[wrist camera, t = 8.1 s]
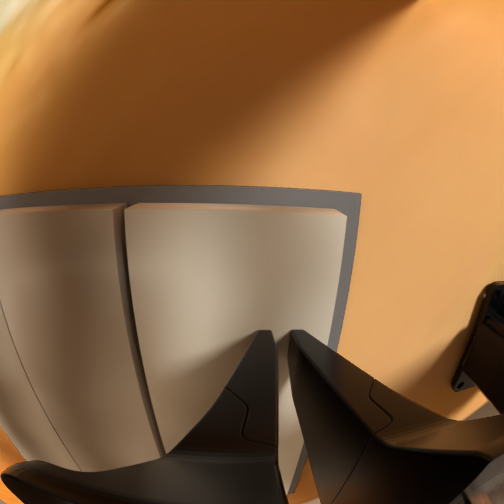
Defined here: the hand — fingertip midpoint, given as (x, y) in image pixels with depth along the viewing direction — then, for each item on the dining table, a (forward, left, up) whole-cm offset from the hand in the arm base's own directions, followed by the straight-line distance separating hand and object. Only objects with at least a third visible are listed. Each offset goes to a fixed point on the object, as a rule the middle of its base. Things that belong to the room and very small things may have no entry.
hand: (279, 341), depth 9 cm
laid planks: (+11, +5, -2) cm, 12 cm away
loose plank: (+1, +5, -1) cm, 5 cm away
